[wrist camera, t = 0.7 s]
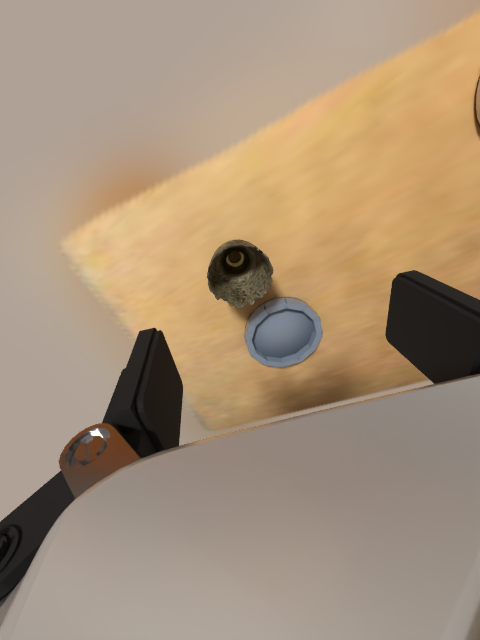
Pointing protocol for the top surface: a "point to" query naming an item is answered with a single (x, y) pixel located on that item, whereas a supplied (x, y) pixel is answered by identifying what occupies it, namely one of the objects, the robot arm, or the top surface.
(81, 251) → the top surface
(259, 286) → the cup
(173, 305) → the top surface
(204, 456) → the robot arm
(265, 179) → the top surface
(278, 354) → the dish
